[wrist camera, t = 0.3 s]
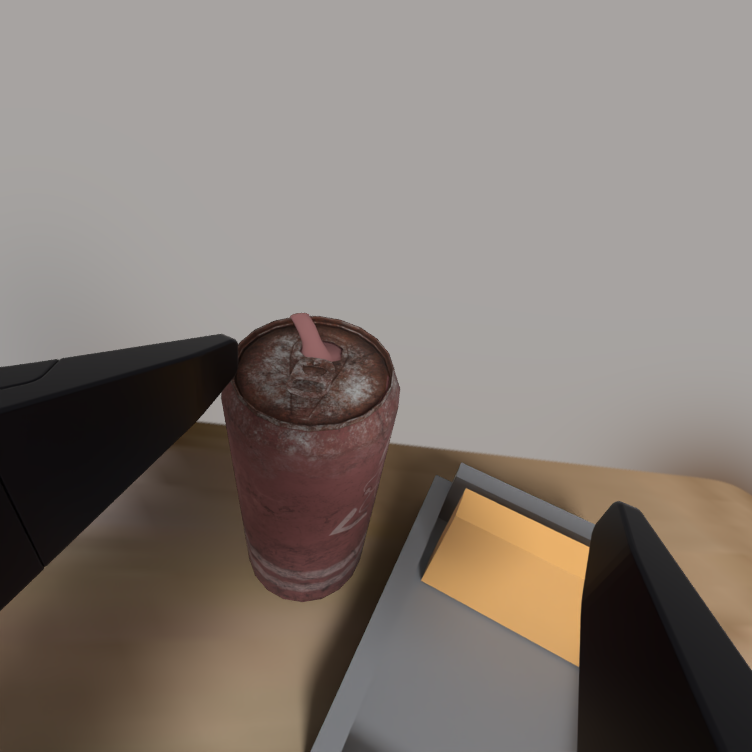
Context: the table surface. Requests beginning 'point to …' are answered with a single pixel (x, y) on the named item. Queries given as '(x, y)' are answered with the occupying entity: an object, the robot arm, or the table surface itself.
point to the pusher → (512, 572)
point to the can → (308, 448)
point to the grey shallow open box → (453, 655)
